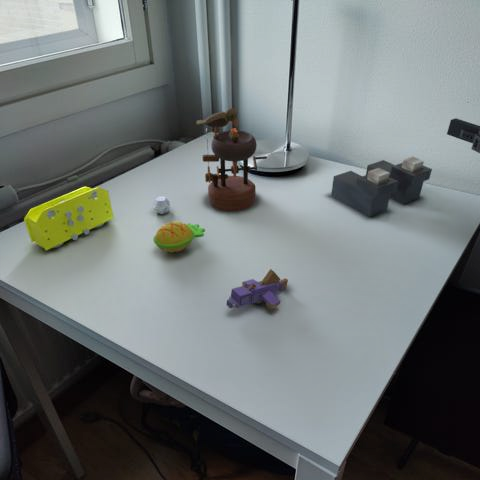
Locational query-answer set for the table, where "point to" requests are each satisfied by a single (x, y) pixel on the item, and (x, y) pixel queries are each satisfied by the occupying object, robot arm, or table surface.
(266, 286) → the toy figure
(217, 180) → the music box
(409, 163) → the low key
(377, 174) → the high key
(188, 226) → the toy pineapple
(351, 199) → the high key block
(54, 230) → the yellow toy chassis
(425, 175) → the low key block
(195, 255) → the table surface
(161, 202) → the game die
